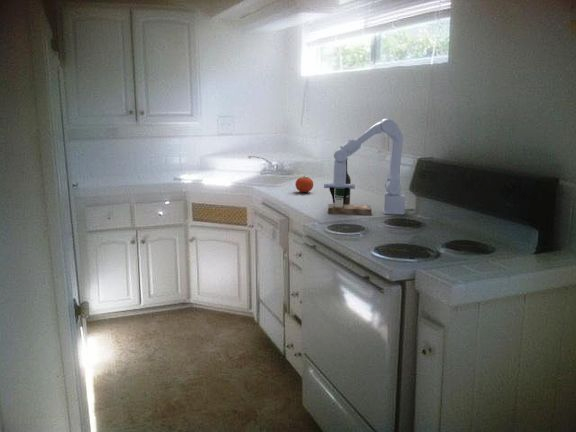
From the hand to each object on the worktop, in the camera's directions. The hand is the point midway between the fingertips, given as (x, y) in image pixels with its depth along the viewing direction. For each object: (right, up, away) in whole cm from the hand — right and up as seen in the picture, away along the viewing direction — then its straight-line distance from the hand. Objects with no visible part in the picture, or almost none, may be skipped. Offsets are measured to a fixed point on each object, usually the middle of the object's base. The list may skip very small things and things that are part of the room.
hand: (338, 203), depth 248 cm
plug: (0, -3, +1) cm, 3 cm away
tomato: (-15, +7, +51) cm, 54 cm away
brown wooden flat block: (+5, -4, 0) cm, 6 cm away
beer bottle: (+4, 0, +18) cm, 19 cm away
